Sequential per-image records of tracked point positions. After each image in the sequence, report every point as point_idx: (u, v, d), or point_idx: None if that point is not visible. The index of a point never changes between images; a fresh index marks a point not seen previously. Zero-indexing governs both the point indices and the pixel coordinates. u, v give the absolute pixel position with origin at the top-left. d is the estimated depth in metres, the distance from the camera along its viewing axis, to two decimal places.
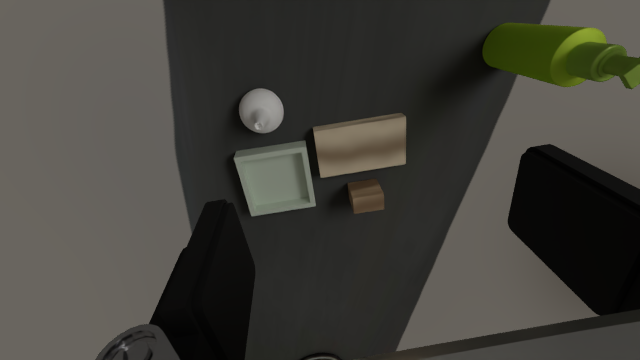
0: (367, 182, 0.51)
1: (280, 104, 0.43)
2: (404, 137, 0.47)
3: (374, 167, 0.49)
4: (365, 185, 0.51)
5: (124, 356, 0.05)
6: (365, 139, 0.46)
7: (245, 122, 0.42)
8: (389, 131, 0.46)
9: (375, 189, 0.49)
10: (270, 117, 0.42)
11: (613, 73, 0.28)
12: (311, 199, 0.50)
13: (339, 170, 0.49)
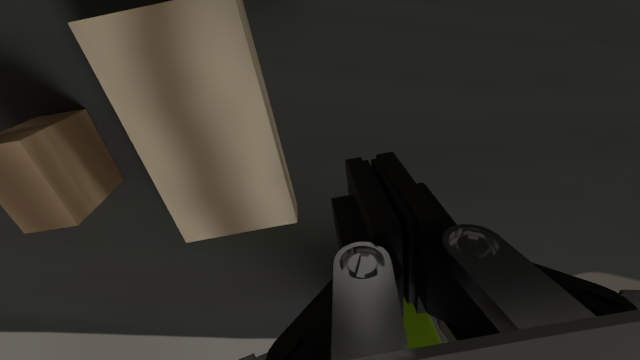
0: (105, 163, 0.19)
1: None
2: (250, 228, 0.21)
3: (157, 180, 0.19)
4: (91, 162, 0.18)
5: (358, 259, 0.07)
6: (232, 147, 0.18)
7: None
8: (260, 197, 0.20)
9: (87, 195, 0.17)
10: None
11: None
12: None
13: (118, 86, 0.16)
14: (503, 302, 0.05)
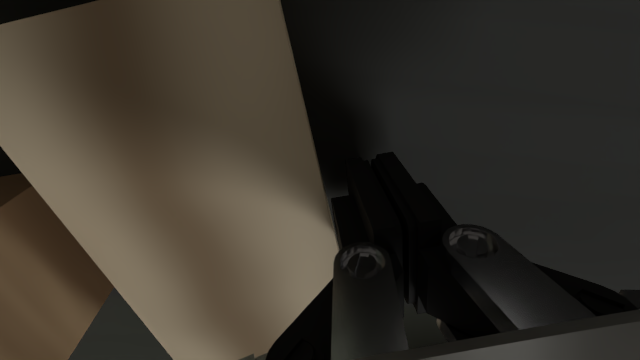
0: None
1: None
2: None
3: (134, 300, 0.11)
4: (70, 261, 0.10)
5: (358, 259, 0.07)
6: (260, 246, 0.10)
7: None
8: None
9: (61, 327, 0.10)
10: None
11: None
12: None
13: (45, 161, 0.08)
14: (503, 302, 0.05)
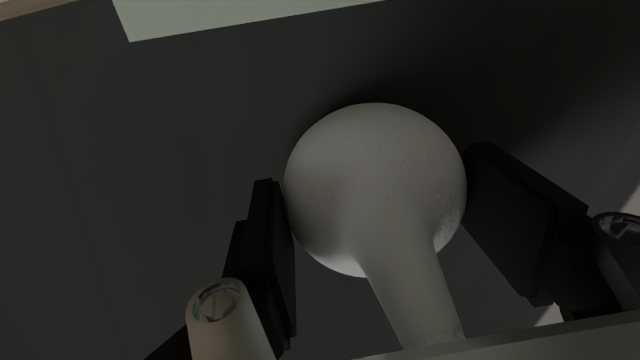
0: None
1: (294, 234, 0.10)
2: None
3: None
4: None
5: (213, 301, 0.06)
6: None
7: (460, 188, 0.09)
8: None
9: None
10: (341, 235, 0.08)
11: None
12: None
13: None
14: (637, 281, 0.05)
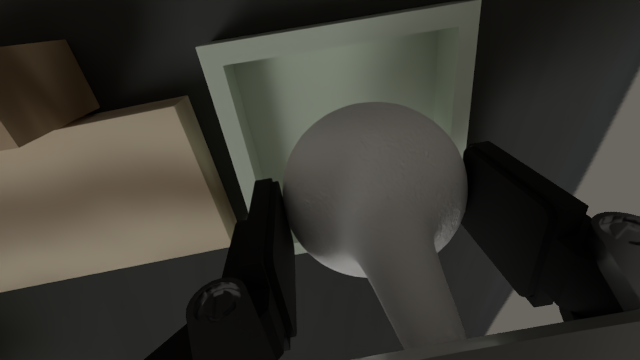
0: None
1: (294, 234, 0.10)
2: None
3: None
4: None
5: (213, 300, 0.06)
6: (71, 238, 0.16)
7: (461, 187, 0.09)
8: (8, 261, 0.16)
9: None
10: (341, 235, 0.08)
11: None
12: (221, 83, 0.12)
13: (111, 137, 0.13)
14: (637, 281, 0.05)
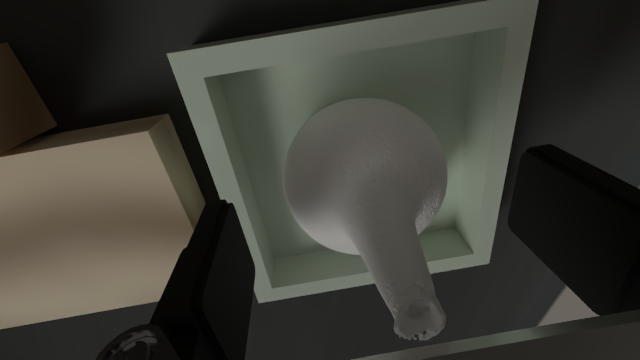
0: None
1: (294, 216, 0.12)
2: None
3: None
4: None
5: (124, 356, 0.05)
6: (26, 280, 0.13)
7: (440, 172, 0.10)
8: None
9: None
10: (334, 213, 0.10)
11: None
12: (202, 99, 0.09)
13: (69, 167, 0.11)
14: None
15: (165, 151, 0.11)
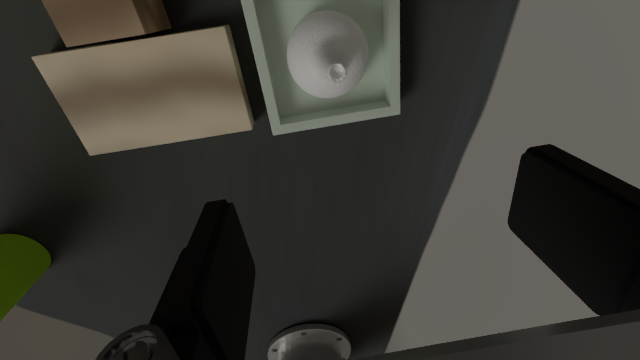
0: None
1: (292, 74, 0.23)
2: (70, 118, 0.24)
3: (104, 50, 0.22)
4: None
5: (124, 356, 0.05)
6: (150, 115, 0.24)
7: (360, 43, 0.22)
8: (108, 130, 0.25)
9: None
10: (310, 60, 0.21)
11: None
12: (250, 6, 0.21)
13: (184, 45, 0.22)
14: None
15: (229, 40, 0.23)
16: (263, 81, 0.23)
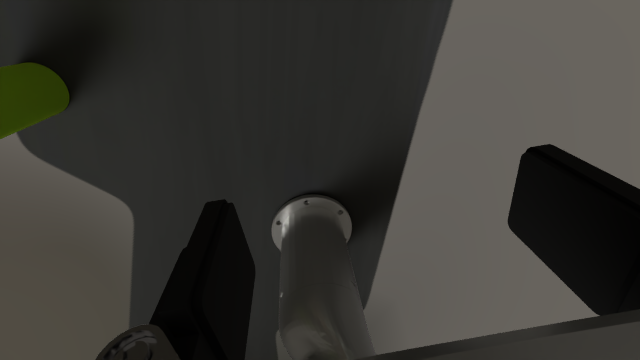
0: None
1: None
2: None
3: None
4: None
5: (124, 356, 0.05)
6: None
7: None
8: None
9: None
10: None
11: None
12: None
13: None
14: None
15: None
16: None
